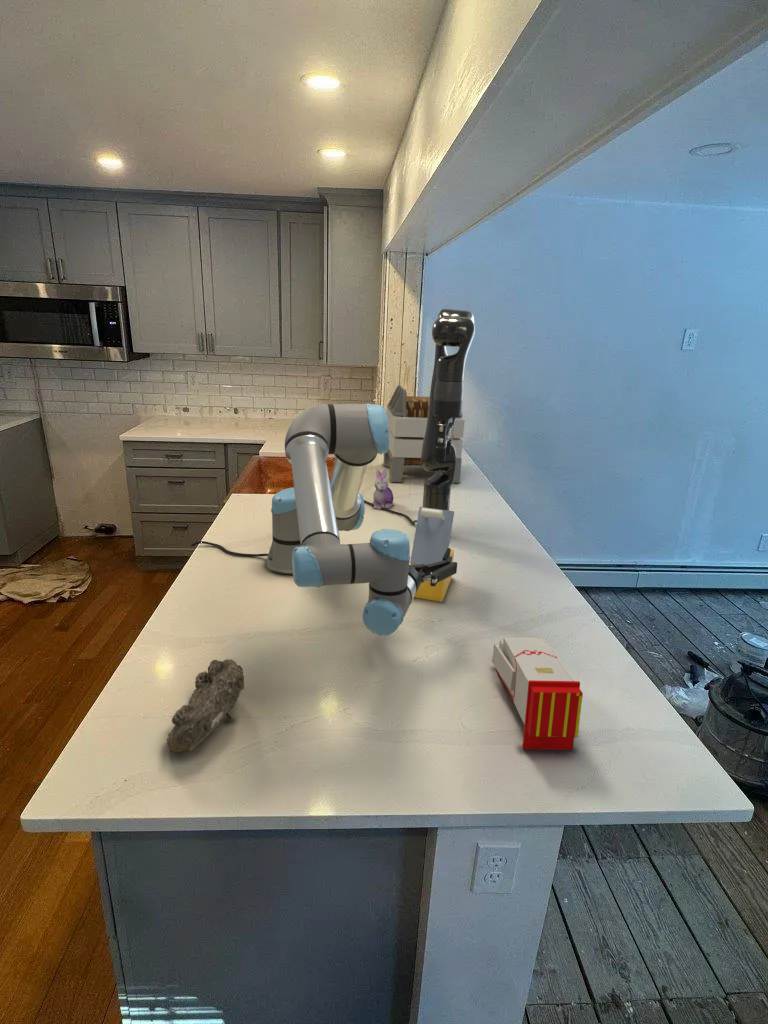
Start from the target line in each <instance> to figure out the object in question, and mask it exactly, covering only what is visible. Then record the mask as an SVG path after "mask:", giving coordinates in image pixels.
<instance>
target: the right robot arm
mask: <svg viewBox="0 0 768 1024" xmlns="http://www.w3.org/2000/svg"><path fill="white" fill-rule="evenodd" d="M475 326H476V325H475V317H474V314H473V313H472V312H471V311H468V310H464V309H453V308H442V309H440V311H439V313H438V316H437V319H435V321H434V322H433V325H432V329H431V337H432V340H433V343H435V349H434V362H433V370H432V376H431V383H430V391H429V397H430V399H429V410H428V418H427V425H426V431H425V436H424V440H423V445H422V451H421V464H422V466H421V467H422V469H423V470H424V471H426V472H428V473H429V472H434V474H433V475H431V476H429V477H428V478H427V479H425V480H424V482H423V493H422V496H423V497H422V506H421V507H426V508H433V509H441V510H448V511H450V504H451V494H452V493H451V491H452V486H453V484H454V483H453V480H454V472H455V465H456V451H455V448H454V446H453V445H452V444H451V442H450V441H452V440H453V437H454V423H455V418H458V417H460V416H461V412H463V411H462V409H463V399H464V377H465V376H464V375H465V366H466V360H467V356H468V353H469V351H470V347H471V345H472V342H473V339H474V337H475V333H476V327H475ZM447 347H457V348H458V350H457V351H456V353H453V354H449V355H448V351H447ZM440 440H442V441H443V443H441V442H440ZM365 503H366V504H368V505H371V506H373V507H374V504H373V502H370V501H367V500H365V499H364V504H365ZM380 510H383V511H386V512H389V513H393V514H396V515H399V516H402V517H405V518H406V519H407V520H408V521H409V523H410V524H411V525H415V524H416V523H417V520H418V519H416V520H412V519H411V518H410V516H408V515H407V514H405V513H402V512H399V511H395V510H392V509H389V508H383V507H381V509H380Z"/></svg>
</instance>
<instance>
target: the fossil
mask: <svg viewBox="0 0 768 1024" xmlns="http://www.w3.org/2000/svg"><path fill="white" fill-rule="evenodd" d="M243 670H244V669H243V667H242V665H240V664H237V662H236V661H235V660H234V659H232V658H231V659H227V658H226V659H224V660H223V661H222V660H217V659H212V660H211V661H210V663H209V665H208V666H207V671H201V672H199V673H198V674H197V675H196V676H195V680H194V684H195V685H194V687H195V689H194V690H193V693H192V694H191V697H190V698H189V700H188V704H184V705H182V706H181V707H180V709H177V710H176V711H175V713H174V715H173V716H172V718H171V723H172V724H173V727H172V730H171V731H170V732H168V734H167V738H166V741H167V742H166V745H167V749H168V750H169V751H173V752H174V753H176V754H178V753H182V752H188V751H189V752H192V751H193V750H195V748H196V747H197V746H199V744H200V743H201V742H203V741H204V740H205V739H206V738H207V737H208V736H209V735H210V734H211V733H212V732H214V730H215V729H217V727H218V726H219V724H220V722H221V721H222V720H223V719H224V718H225V716H226V717H227V719H229V720H233V717H232V715H230V714H229V710H230V709H231V708H234V706H235V704H236V703H237V702H238V699H239V697H240V695H241V693H242V691H243V690H245V689H244V688H245V675H244V671H243Z"/></svg>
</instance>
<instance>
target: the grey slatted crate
mask: <svg viewBox="0 0 768 1024" xmlns="http://www.w3.org/2000/svg"><path fill="white" fill-rule="evenodd" d="M407 394H408V393H407V390H406V389H404V388H403V387H402V385H399V384H398V385H397V386H396V388H395V390H394V392H393V394H392V395H391V398H390V400H389V402H388V404H387V405H386V414H387V419H388V427H389V449H388V452H387V453H383V466H384V467H388V468H389V475H388V476H389V477H388V478H389V480H390V482H391V483H402V482H403V475H404V469H405V466H406V467H407V466H411V467H412V466H413V467H415V466H416V467H417V466H418V467H422V464H421V451H422V445H423V440H424V436H425V431H426V425H427V418H428V410H429V399H430V396H415V395H414V396H413V395H412V396H411V395H407ZM464 429H465V419H464V418H463V411H461V416H460V417H458V418H455V423H454V437H453V440H452V441H450V442H451V444H452V445H453V446H454V448H455V451H456V465H455V472H454V480H453V484H455V483H456V484H459V483H461V472H462V461H463V460H462V453H463V442H464V441H463V440H462V439H463V438H464V431H465V430H464ZM440 442H441V443H443V441H442V440H440Z"/></svg>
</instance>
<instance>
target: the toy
mask: <svg viewBox="0 0 768 1024" xmlns="http://www.w3.org/2000/svg"><path fill="white" fill-rule="evenodd" d="M491 663H492V665H493V666H494V668H495V671H496V673H497V674H498V676H499V678H500V680H501V682H502V683H503V685H504V687H505V688H506V690H507V692H508V694H509V696H510V698H511V699H512V701H513V704H514V706H515V707H516V708H515V709H516V710H517V712H518V715H519V717H520V719H521V721H522V723H523V725H524V727H523V737H522V749H523V750H548V751H549V750H552V751H553V750H554V751H555V750H556V751H557V750H559V751H560V750H561V751H572V750H574V741H575V738H578V736H579V729H580V722H581V721H580V720H581V713H582V704H583V695H584V694H583V691H582V690H581V687H580V686H581V682H580V681H578V680H574V678H573V677H572V676H571V674H570V673H569V672H568V670H567V669H566V667H565V665H563V663H562V662H561V661H560V659H559V658H558V656H557V655H556V653H555V652H554V651H553V650H552V647H551V645H550V644H549V643H548V642H547V641H546V640H545V638H544V637H543V638H542V637H541V638H539V637H503V638H499V642H498V643H494V644H493V649H492V658H491Z"/></svg>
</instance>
